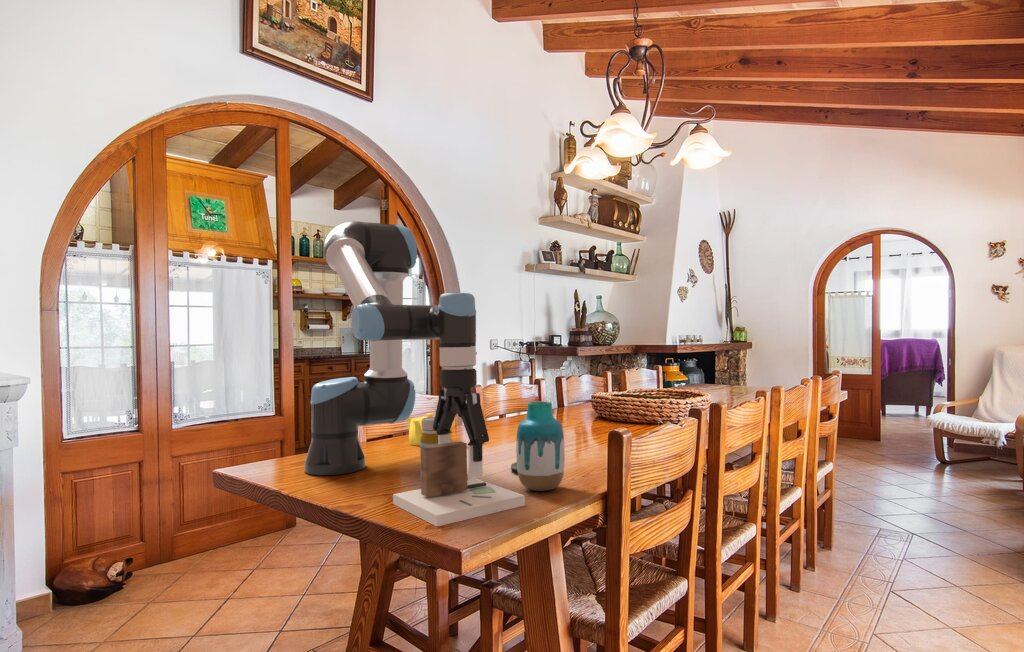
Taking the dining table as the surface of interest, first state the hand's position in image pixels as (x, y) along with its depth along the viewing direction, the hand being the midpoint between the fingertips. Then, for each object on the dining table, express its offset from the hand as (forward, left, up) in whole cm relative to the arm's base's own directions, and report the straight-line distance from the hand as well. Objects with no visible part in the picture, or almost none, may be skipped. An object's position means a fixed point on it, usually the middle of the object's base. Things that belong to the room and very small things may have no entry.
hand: (459, 471), depth 118 cm
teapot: (-61, +27, -7) cm, 67 cm away
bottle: (-16, +4, -6) cm, 18 cm away
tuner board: (+2, -1, -6) cm, 7 cm away
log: (-12, +28, -7) cm, 31 cm away
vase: (+4, +19, -6) cm, 20 cm away
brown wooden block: (0, -1, -4) cm, 4 cm away
